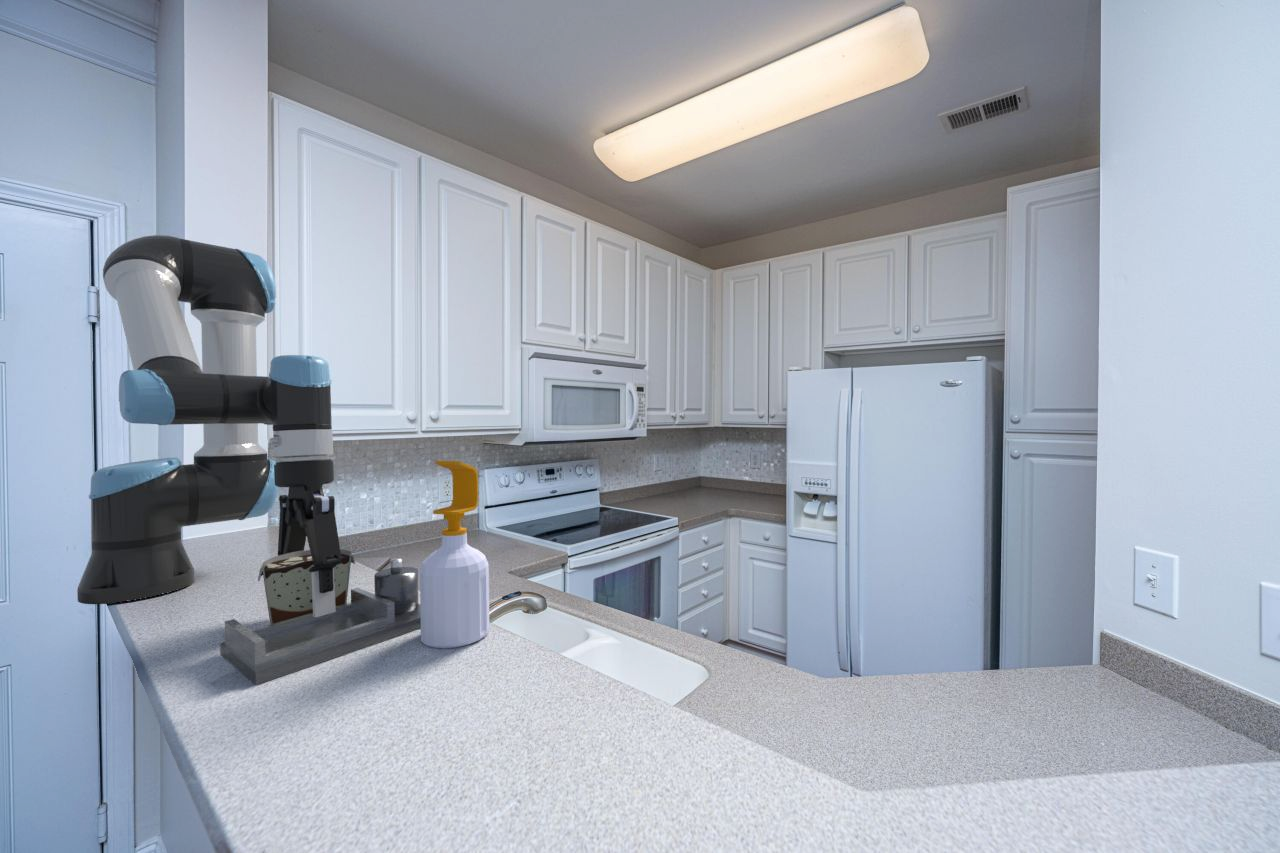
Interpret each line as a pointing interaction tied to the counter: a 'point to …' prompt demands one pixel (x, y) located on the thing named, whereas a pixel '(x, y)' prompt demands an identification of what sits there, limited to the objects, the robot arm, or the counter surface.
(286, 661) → the tray
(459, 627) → the soap bottle
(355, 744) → the counter surface
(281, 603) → the food container
